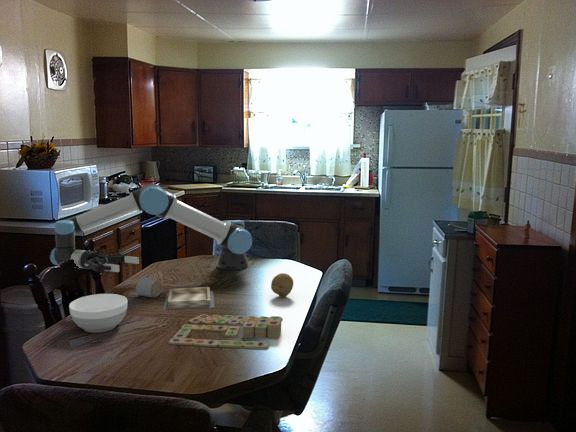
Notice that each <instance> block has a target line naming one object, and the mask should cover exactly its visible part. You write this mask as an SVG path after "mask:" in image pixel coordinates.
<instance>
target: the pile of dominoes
mask: <svg viewBox="0 0 576 432" xmlns="http://www.w3.org/2000/svg"><path fill="white" fill-rule="evenodd" d="M282 321H283V317H281V316H274V315H272V316H264V315H263V316H259V317H258V316H254V315H249V316H244V315H236V316H234V315H230V314H225V315H224V316H222V315H219V314H213V315H211V316H210V315H208V314H200V315H198V316H195V317H192V318H191V319H189V320H188V323H191V324H188V323H187V324H183V325H182V326H181V327H180V329H178V331H177V332H176V333H175V334H174V336H173V337H171V338H170V339H169V340H168V344H169V345H176V346H177V345H178V346H196V347H209V348H210V347H211V348H215V347H216V348H217V347H219V348H232V349H242V348H243V349H248V350H249V349H251V350H253V349H254V350H256V349H257V350H268V349H269V347H270V342H268V341H252V340H250V341H249V340H247V341H243V340H230V339H229V340H227V339H221V340H218V339H200V338H198V339H195V338H187V337H188V336H189V335H190V333H191V332H192V331H206V332H223V333H225V335H224V337H228V338H231V337H232V338H236V337H238V334H239V332H240V330H241V327H240V326H238V325H241V326H242V337H243V338H244V339H245V338H247V339H248V338H249V339H254V338H255V339H263V340H264V339H265V340H266V339H268V340H279V339H280V337H281V334H282ZM200 323H201V324H200ZM214 324H218V325H214ZM226 324H227V325H226ZM228 325H230V326H228Z"/></svg>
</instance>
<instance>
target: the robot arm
mask: <svg viewBox="0 0 576 432" xmlns="http://www.w3.org/2000/svg"><path fill="white" fill-rule="evenodd" d="M136 211H137V212H142V211H145V212H146V213H147V214H149V215H155V216H157V217H158V218H161V219H163V220H164V219H168V218H169V219H171V220H174V221H175V222H178V223H179V224H182V225H184V226H187V227H188V228H191V229H193V230H195V231H197V232H199V233H201V234H204V235H206V236H208V237H209V238H212V239H215V241H216V242H217V245H219V246H220V249H219V250H220V251H219V255H218V257H217V261H216V268H218V269H220V270H225V271H237V270H238V271H239V270H243V269H246V268H247V267H248V266H249V261H248V258H247V256H246V252H248V251H249V250H250V248H251V247H252V244H253V238H252V235H251V233H250V231H249V230H247V229H245V221H244V220H241V219H237V220H236V219H235V220H232V219H230V220H219V219H218V218H215V217H214V216H211V215H209V214H207V213H205V212H202V211H201V210H199V209H197V208H196V207H195V208H194V207H193V206H190V205H188V204H186V203H184V202H182V201H180V200H178V199H177V196H176V194H173V193H172V192H169V191H167V190H166V189H164V188H163V187H162V186H160V185H159V184H156V183H147V184H146V185H144V186H142V187H140V188H137V189H136V190H133V191H131V192H130V194H129V195H128V196H125V197H122V198H119V199H117V200H114V201H112V202H110V203H106V204H104V205H102V206H99V207H95V208H94V209H92V210H91V209H90V210H89V211H87V212H84V213H82V214H79V215H76V216H73V217H72V218H66V219H62V220H57V221H55V223H54V235H55V247H54V248H53V249H52V250H51V252H50V255H49V259H50V262H51V263H52V264H53V265H55V266H60V265H59V264H60V263H61V262H63V261H66V260H71V259H73V260H74V263H75V264H76V266H78V267H79V268H81V269H85V270H92V271H94V272H96V273H98V272H100V273H104V272H111V273H119V272H120V265H119V264H113V263H125V264H126V263H127V264H135V265H138V264H140V257H138V256H130V255H129V254H127V253H122V254H106V253H105V254H103V255H101V254H100V255H98V254H97V252H95V251H94V250H93V251H92V250H82V249H76V241H75V239H76V238H75V237H76V235H79V234H82V233H84V232H85V231H88V230H90V229H93V228H96V227H99V226H101V225H103V224H106V223H108V222H111V221H114V220H116V219H119V218H121V217H123V216H125V215H128V214H132V213H134V212H136ZM128 255H129V256H128ZM79 268H78V269H79Z"/></svg>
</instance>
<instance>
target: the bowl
mask: <svg viewBox="0 0 576 432" xmlns="http://www.w3.org/2000/svg"><path fill="white" fill-rule="evenodd" d="M68 308H69V314H70V317H71V319H72V321H73V322H74V324H75V325H77V327H79V328H80V329H83V330H84V331H85V332H88V333H104V332H107V331H111V330H113V329H115V328H116V327H117V325H118V324H120V323H121V322H122V321H123V319H124V317H125V316H126V314H127V310H128V298H127V296H124V295H122V294H121V295H120V294H115V293H97V294H91V295H86V296H81V297H79V298H77V299H74V300H73V301H71V302H70V303H69V305H68Z"/></svg>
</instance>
